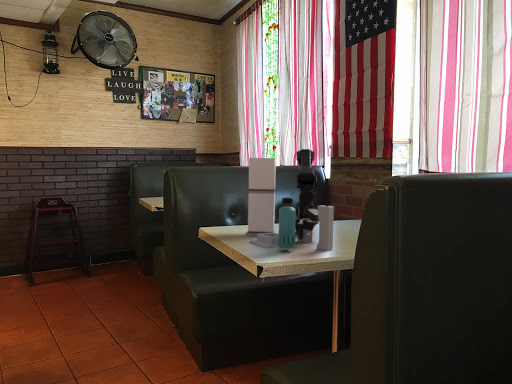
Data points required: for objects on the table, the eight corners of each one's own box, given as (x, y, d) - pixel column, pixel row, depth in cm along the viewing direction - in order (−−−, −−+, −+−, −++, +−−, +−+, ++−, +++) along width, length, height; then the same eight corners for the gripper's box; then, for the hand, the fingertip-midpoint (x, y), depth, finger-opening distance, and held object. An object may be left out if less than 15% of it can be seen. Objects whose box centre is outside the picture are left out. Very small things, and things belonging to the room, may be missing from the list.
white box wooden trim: (274, 232, 187) (275, 158, 184) (273, 236, 176) (274, 158, 174) (250, 231, 188) (251, 158, 185) (247, 235, 177) (249, 157, 175)
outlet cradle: (276, 239, 169) (276, 231, 169) (294, 244, 159) (295, 235, 159) (249, 242, 161) (249, 234, 161) (267, 247, 151) (267, 238, 151)
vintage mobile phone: (321, 247, 154) (323, 183, 152) (332, 249, 151) (334, 184, 149) (316, 249, 151) (318, 184, 149) (327, 251, 148) (329, 184, 146)
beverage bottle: (281, 253, 143) (282, 198, 141) (275, 249, 149) (276, 196, 148) (297, 252, 144) (299, 198, 143) (291, 248, 151) (292, 196, 149)
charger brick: (304, 240, 168) (304, 228, 168) (312, 242, 164) (312, 230, 164) (296, 241, 166) (297, 229, 166) (305, 243, 162) (305, 231, 162)
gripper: (301, 204, 152) (300, 244, 153) (335, 202, 163) (334, 239, 164) (283, 202, 161) (282, 239, 162) (316, 200, 172) (315, 235, 173)
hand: (304, 238), depth 165 cm, fingers closed on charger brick, 4 cm apart
